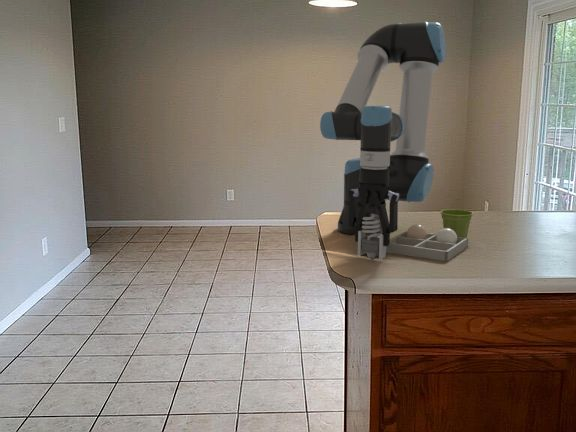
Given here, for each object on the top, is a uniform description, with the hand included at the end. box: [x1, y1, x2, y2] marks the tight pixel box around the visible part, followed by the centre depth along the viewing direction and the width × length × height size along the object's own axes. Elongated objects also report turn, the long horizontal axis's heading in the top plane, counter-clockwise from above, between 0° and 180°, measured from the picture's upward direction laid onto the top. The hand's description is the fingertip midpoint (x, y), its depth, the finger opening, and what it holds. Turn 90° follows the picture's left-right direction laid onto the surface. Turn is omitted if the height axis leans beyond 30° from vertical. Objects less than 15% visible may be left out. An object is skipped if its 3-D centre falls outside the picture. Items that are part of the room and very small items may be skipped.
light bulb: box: [362, 214, 383, 260], centre depth 155 cm, size 6×6×12 cm
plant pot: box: [439, 209, 474, 238], centre depth 176 cm, size 9×9×9 cm
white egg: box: [436, 227, 457, 244], centre depth 165 cm, size 6×6×6 cm
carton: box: [386, 229, 469, 262], centre depth 164 cm, size 18×18×3 cm
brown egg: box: [406, 224, 428, 240], centre depth 170 cm, size 6×6×6 cm
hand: (371, 255), depth 156 cm, fingers closed on light bulb, 5 cm apart
